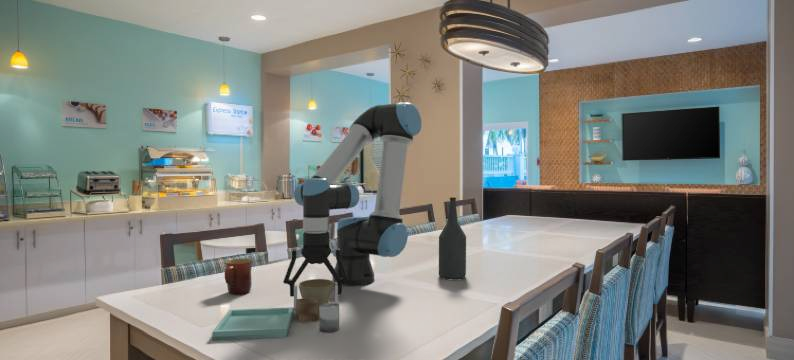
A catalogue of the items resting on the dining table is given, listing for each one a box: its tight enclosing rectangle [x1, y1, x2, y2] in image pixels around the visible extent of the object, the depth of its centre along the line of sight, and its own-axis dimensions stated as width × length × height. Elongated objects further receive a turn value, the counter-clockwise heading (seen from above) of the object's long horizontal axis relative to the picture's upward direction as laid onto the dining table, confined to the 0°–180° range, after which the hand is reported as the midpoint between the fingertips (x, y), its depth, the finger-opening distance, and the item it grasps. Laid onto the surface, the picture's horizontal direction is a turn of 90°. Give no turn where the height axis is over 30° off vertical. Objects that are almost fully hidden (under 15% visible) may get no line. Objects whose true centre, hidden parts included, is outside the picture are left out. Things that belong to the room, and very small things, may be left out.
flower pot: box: [298, 278, 335, 311], centre depth 132 cm, size 10×10×7 cm
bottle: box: [438, 196, 467, 280], centre depth 170 cm, size 10×10×30 cm
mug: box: [224, 257, 254, 296], centre depth 146 cm, size 12×9×10 cm
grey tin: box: [318, 302, 340, 334], centre depth 114 cm, size 5×5×6 cm
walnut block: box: [295, 297, 319, 324], centre depth 122 cm, size 5×5×5 cm
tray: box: [211, 306, 294, 341], centre depth 116 cm, size 17×17×2 cm
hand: (316, 306), depth 132 cm, fingers open, 11 cm apart
